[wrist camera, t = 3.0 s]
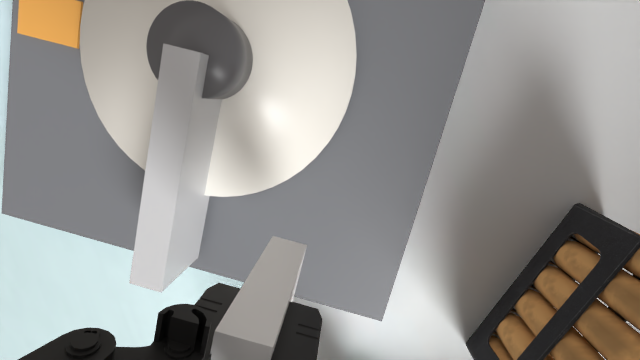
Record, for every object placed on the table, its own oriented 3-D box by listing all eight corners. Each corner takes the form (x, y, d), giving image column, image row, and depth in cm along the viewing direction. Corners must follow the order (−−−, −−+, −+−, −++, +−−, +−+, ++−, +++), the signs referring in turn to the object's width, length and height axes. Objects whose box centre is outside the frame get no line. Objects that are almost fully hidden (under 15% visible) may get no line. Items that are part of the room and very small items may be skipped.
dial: (109, -121, 18) (33, -190, 13) (390, -56, 17) (401, -109, 13) (75, 221, 21) (8, 248, 17) (302, 285, 21) (288, 328, 17)
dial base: (519, -130, 17) (536, -155, 16) (380, 307, 22) (381, 322, 21) (52, -231, 18) (23, -263, 17) (23, 206, 24) (-1, 214, 22)
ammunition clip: (576, 201, 20) (884, 334, 8) (605, 218, 20) (952, 374, 8) (464, 344, 22) (581, 603, 11) (490, 359, 22) (635, 634, 11)
